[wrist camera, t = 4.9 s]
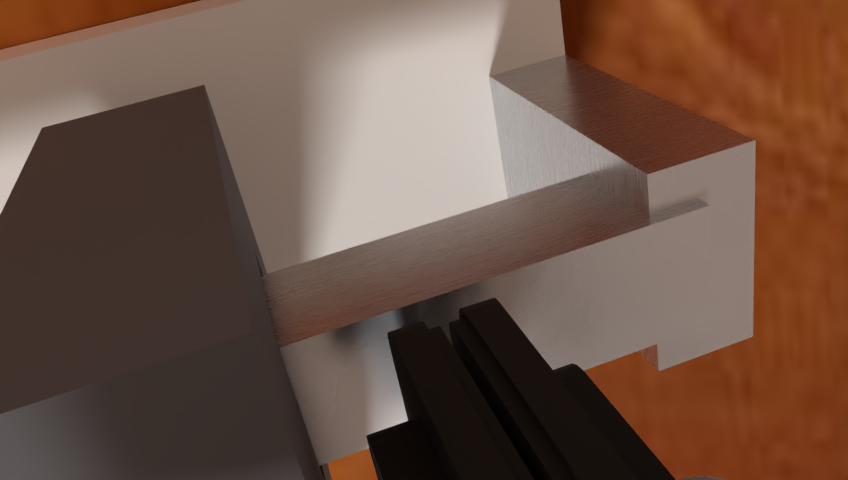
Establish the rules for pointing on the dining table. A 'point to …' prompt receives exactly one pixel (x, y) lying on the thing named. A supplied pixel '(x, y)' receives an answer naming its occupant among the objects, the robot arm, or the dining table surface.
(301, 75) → the base board
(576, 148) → the white frame stand
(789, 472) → the dining table surface
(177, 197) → the collar
